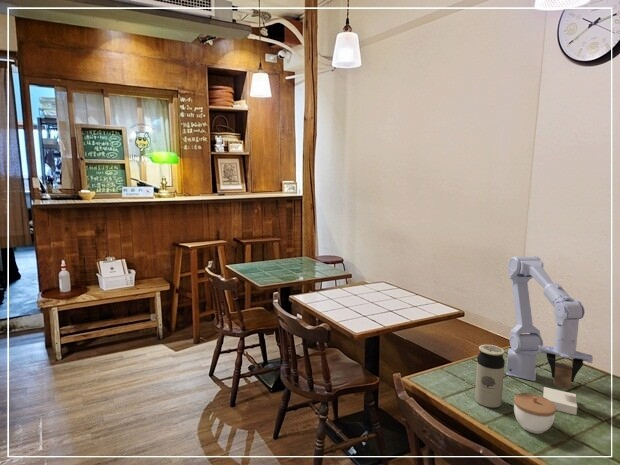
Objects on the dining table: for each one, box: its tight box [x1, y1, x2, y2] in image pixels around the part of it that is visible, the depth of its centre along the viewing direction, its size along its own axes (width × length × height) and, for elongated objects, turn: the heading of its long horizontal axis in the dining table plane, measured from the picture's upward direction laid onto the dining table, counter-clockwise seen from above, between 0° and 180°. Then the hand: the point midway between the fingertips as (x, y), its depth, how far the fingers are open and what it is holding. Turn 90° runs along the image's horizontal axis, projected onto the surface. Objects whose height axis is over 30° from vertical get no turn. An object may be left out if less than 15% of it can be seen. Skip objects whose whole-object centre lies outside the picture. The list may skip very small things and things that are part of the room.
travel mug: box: [474, 344, 506, 409], centre depth 130 cm, size 8×8×18 cm
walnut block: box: [553, 361, 572, 389], centre depth 130 cm, size 4×4×6 cm
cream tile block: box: [542, 386, 578, 416], centre depth 130 cm, size 9×9×3 cm
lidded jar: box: [513, 392, 557, 435], centre depth 118 cm, size 11×11×9 cm
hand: (562, 378), depth 130 cm, fingers closed on walnut block, 4 cm apart
